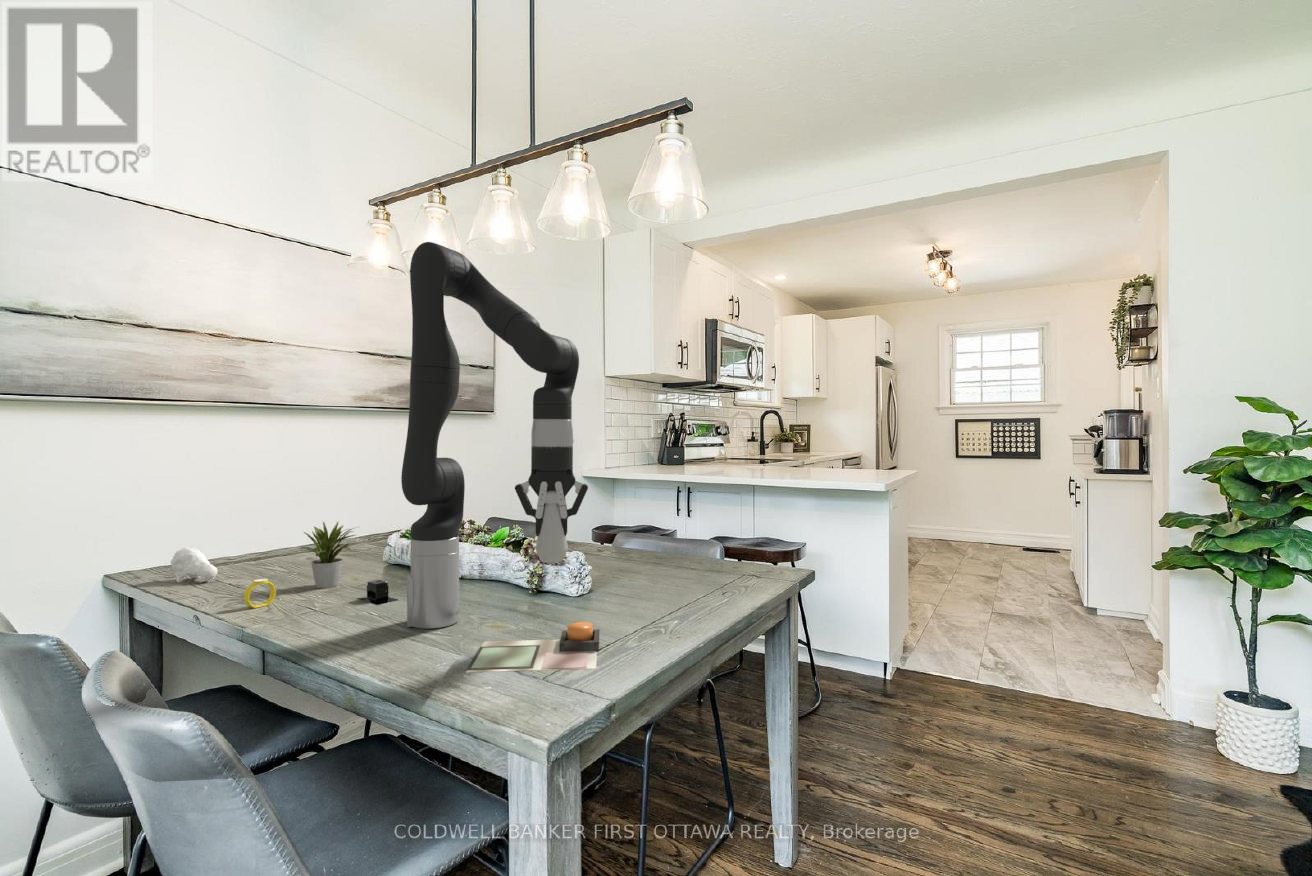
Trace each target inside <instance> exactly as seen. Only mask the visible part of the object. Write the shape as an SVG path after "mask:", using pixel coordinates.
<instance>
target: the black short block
mask: <svg viewBox="0 0 1312 876" xmlns="http://www.w3.org/2000/svg"><path fill="white" fill-rule="evenodd" d="M391 597H392V596H389V583H388V581H386V580H382V579H374V580H372V581H367V585H366V595H365V596H361V598H360V597H357V598H356V600H359V601H362V602H367V603H368V602H369V604H372V605H375V606H379V605H380V606H381V605H385V604H388V602H389V603H393V602H397V601H399V600H398V598H396V597H392V598H391ZM395 598H396V599H395Z"/></svg>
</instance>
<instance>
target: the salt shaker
mask: <svg viewBox="0 0 1312 876" xmlns="http://www.w3.org/2000/svg"><path fill="white" fill-rule="evenodd" d="M560 495H561V494H560ZM541 500H542V499H541ZM558 500H559V497H558V494H557V493H556V491H547V492H546V496H545V505H544V510H543V517H542V519H543V523H542V527H541V532H540V536H537V539H536V543H535V544H536V545H535V550H536V553H537V556H538V558H539V560H540V561H539V562H541V563H543V564H556V563H562V562H563V560H564V558H565V556H566V554H567V553H568V551H569V550H568V548H569V546H568V541H567V535H566V536H565V535H564V530H563V527H562V524H561V520H560V519H562V518H561V515H560V509H559V504H558ZM561 500H562V499H561Z"/></svg>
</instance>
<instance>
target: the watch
mask: <svg viewBox="0 0 1312 876" xmlns="http://www.w3.org/2000/svg"><path fill="white" fill-rule="evenodd" d="M265 584H267V585H268V586H269V588H270V595H269V597H268V599H267V600H266V601H265V602H264V603H259V604H257V605H253V604H252V603H251V601H250V594H251V592H252V590H253V589H254V588H255V587H256V586H258V585H265ZM276 592H277V591H276V587H275V585H274V584H273V583H272V582H270V581H269V579H267V578H258V579H253V581H252V583H250V584H249V585H248V587H247V588H246V590H245V592H244V594H243V595H244V597H243V600H244V602H245V605H247V606H248V607H250V608H252V609H257V608H261V607H266V606H270V605H271V604H272V602H273V601H274V599H275V597H276V595H277V594H276Z"/></svg>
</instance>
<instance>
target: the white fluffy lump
mask: <svg viewBox="0 0 1312 876" xmlns="http://www.w3.org/2000/svg"><path fill="white" fill-rule="evenodd" d="M170 565H171V570H172V571H173V572H174V575H175V578H176V582H177V583H179V584H180V583H181V582H182V581H184V579H185V577H187V576H188V578H190V579H197V580H199V581H200V583H203V582H206V583H211V582H212V581H213V580H214V579H215V577H216V576H217V574H218V568H217V567H216V566H215V565H213V564H211V563H210V561H209V560H208V559H207V557H206V555H205V554H204V553H203V552H201V550H199V549H197V548H196V547H193V546H188V547H187V546H186V547H182V548H180V549H179V550H176V551H175V553H174V555H173V556H172V559H171V560H170Z"/></svg>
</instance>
